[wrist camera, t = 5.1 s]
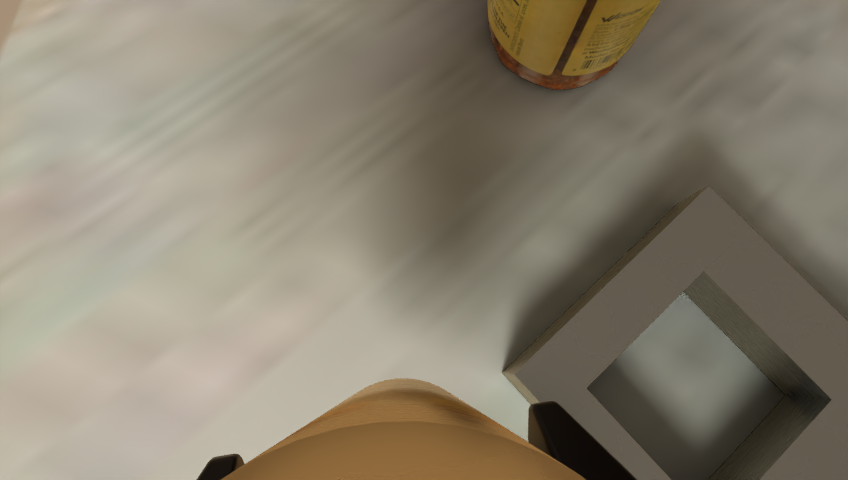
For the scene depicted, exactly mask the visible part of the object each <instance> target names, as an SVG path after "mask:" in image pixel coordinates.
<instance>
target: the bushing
mask: <svg viewBox="0 0 848 480" xmlns="http://www.w3.org/2000/svg"><path fill="white" fill-rule="evenodd" d="M221 480H586V479H585V478H583V477H582V476H581V475H579V474H578V473H576V472H575V471H573V470H571V469H570V468H568V467H567V466H565V465H563V464H562V463H560V462H559V461H557V460H555V459H554V458H552V457H551V456H549V455H547V454H546V453H544V452H543V451H541V450H540V449H538V448H536V447H535V446H533V445H532V444H530V443H528V442H527V441H525V440H524V439H522V438H520V437H519V436H517V435H516V434H514V433H513V432H511V431H509V430H508V429H506V428H505V427H503V426H501V425H500V424H498V423H497V422H495V421H493V420H492V419H490V418H489V417H487V416H486V415H484V414H482V413H481V412H479V411H478V410H476V409H474V408H473V407H471V406H470V405H468V404H466V403H465V402H463V401H462V400H460V399H459V398H457V397H455V396H454V395H452V394H451V393H449V392H447V391H446V390H444V389H442V388H440V387H439V386H436V385H434V384H431V383H429V382H425V381H421V380H416V379H391V380H385V381H382V382H378V383H375V384H373V385H370V386H368V387H366V388H364V389H362V390H361V391H359V392H357V393H356V394H354V395H353V396H351V397H350V398H348V399H346V400H345V401H343V402H342V403H340V404H339V405H337V406H335V407H334V408H332V409H331V410H329V411H328V412H326V413H324V414H323V415H321V416H320V417H318V418H317V419H315V420H313V421H312V422H310V423H309V424H307V425H306V426H304V427H303V428H301V429H299V430H298V431H296V432H295V433H293V434H292V435H290V436H288V437H287V438H285V439H284V440H282V441H281V442H279V443H277V444H276V445H274V446H273V447H271V448H270V449H268V450H266V451H265V452H263V453H262V454H260V455H259V456H257V457H256V458H254V459H252V460H251V461H249V462H248V463H246V464H245V465H243V466H241V467H240V468H238V469H237V470H235V471H234V472H232V473H230V474H229V475H227V476H226V477H224V478H223V479H221Z"/></svg>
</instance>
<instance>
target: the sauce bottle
mask: <svg viewBox="0 0 848 480" xmlns="http://www.w3.org/2000/svg"><path fill="white" fill-rule="evenodd" d="M660 1H661V0H488V1H487V9H488V20H489V30H490V31H491V38H492V41H493V44H494V46H495V48H496V51H497V52H498V56H499V58H500V60H501V61H502V63H503V64H504V65H505V66H506V67H507V68H508V69H510V70H511V71H513V72H514V73H516V74H517V75H518V76H519V77H521V78H524V79H526V80H528V81H530V82H532V83H534V84H538V85H542V86H544V87H545V88H550V89H554V90H557V89H563V90H565V89H573V88H576V87H581V86H583V85H585V84H587V83H590V82H592V81H594V80H596V79H598V78H599V77H601V76H603V75H605V74H607V73H608V72H609V71H610V70H611V69H612V68H613V67H614V66H615V65H616V64H617V62H618V59H619V58H620V57H622V56H623V55H624V54H625V53H626V52H627V50H628V49H629V48H630V47H631V46H632V44H633V43H634V41H635V40H636V38H637V37H638V35H639V34H640V32H641V31H642V29H643V28H644V26H645V24H646V23H647V21H648V20H649V18H650V17H651V15H652V14H653V12H654V10H655V9H656V7H657V6H658V4H659V2H660Z"/></svg>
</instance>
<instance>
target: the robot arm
mask: <svg viewBox="0 0 848 480" xmlns="http://www.w3.org/2000/svg"><path fill="white" fill-rule="evenodd" d="M528 441H529V443H530V444H532V445H533V446H535V447H536V448H538V449H540V450H541V451H543V452H544V453H546V454H547V455H549V456H551V457H552V458H554V459H555V460H557V461H559V462H560V463H562V464H563V465H565V466H567V467H568V468H570V469H571V470H573V471H575V472H576V473H578V474H579V475H581V476H582V477H583V478H585V479H586V480H637V479H636V478H635V477H634V476H633V475H632V474H631V473H630V472H629V471H628V470H627V469H626V468H625V467H624V466H623V465H622V464H621V463H620V462H619V461H618V460H617V459H616V458H615V457H613V456H612V455H611V454H610V453H609V452H608V451H607V450H606V449H605V448H604V447H603V446H602V445H601V444H600V443H599V442H598V441H597V440H596V439H595V438H594V437H593V436H592V435H591V434H590V433H589V432H588V431H587V430H585V429H584V428H583V427H582V426H581V425H580V424H579V423H578V422H577V421H576V420H575V419H574V418H573V417H572V416H571V415H570V414H569V413H568V412H567V411H566V410H565V409H564V408H563V407H562V406H561V405H559V404H558V403H557V402H555V401H546V402H540V403H534V404H532V405H531V406H530V408H529V419H528ZM243 465H245V464H244V462H243V459H242V457H241V456H240V455H239V454H230V455H224V456H218V457H214V458H212V459H211V460H210V461H209V462H208V463H207V465H206V466H205V468H204V469H203V471H202V472H201V474H200V475H199V477H198V478H197V480H221V479H223V478H224V477H226V476H227V475H229V474H230V473H232V472H234V471H235V470H237V469H238V468H240V467H241V466H243Z"/></svg>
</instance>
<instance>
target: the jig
mask: <svg viewBox="0 0 848 480" xmlns="http://www.w3.org/2000/svg"><path fill="white" fill-rule="evenodd" d="M683 291H684V292H685V293H686V294H687V295H688V296H689V297H690V299H691V300H692V301H693V302H694V303H695V304H696V305H697V306H698V307H699V308H700V309H701V310H702V311H703V312H704V313H705V314H706V315H707V316H708V317H709V318H710V319H711V320H712V321H713V322H714V323H715V324H716V325H717V326H718V327H719V328H720V329H721V330H722V331H723V332H724V333H725V334H726V335H727V336H728V337H729V338H730V339H731V340H732V341H733V342H734V343H735V344H736V345H737V346H738V347H739V348H740V349H741V350H742V351H743V352H744V353H745V354H746V355H747V356H748V358H749V359H750V360H751V361H752V362H753V363H754V364H755V365H756V366H757V367H758V368H759V369H760V370H761V371H762V372H763V373H764V374H765V375H766V376H767V377H768V378H769V379H770V380H771V381H772V382H773V383H774V384H775V385H776V386H777V387H778V388H779V389H780V390H781V391H782V392H783V393H784V394H785V395H786V396H785V397H784V398H783V399H782V400H781V402H780V403H779V404H778V405H777V406H776V407H775V408H774V409H773V410H772V411H771V412H770V413H769V415H768V416H767V417H766V418H765V419H764V420H763V421H762V422H761V423H760V424H759V425H758V426H757V428H756V429H755V430H754V431H753V432H752V433H751V434H750V435H749V436H748V437H747V438H746V440H745V441H744V442H743V443H742V444H741V445H740V446H739V447H738V448H737V449H736V450H735V451H734V453H733V454H732V455H731V456H730V457H729V458H728V459H727V460H726V461H725V462H724V463H723V464H722V466H721V467H720V468H719V469H718V470H717V471H716V472H715V473H714V474H713V475H712V476H711V478H710V479H709V480H848V321H847V320H846V319H845V318H844V317H843V316H842V315H841V314H840V313H839V312H838V311H837V310H836V309H835V308H834V307H833V306H832V305H831V304H830V303H829V302H828V301H827V300H826V299H825V298H824V297H822V296H821V295H820V294H819V293H818V292H817V291H816V290H815V289H814V288H813V287H812V286H811V285H810V284H809V283H808V282H807V281H806V280H805V279H804V278H803V277H802V276H801V275H800V274H799V273H798V272H797V271H796V270H795V269H794V268H793V267H792V266H791V265H790V264H789V263H788V262H787V261H786V260H785V259H784V258H783V257H782V256H781V255H780V254H779V253H778V252H777V251H776V250H775V249H773V248H772V247H771V246H770V245H769V244H768V243H767V242H766V241H765V240H764V239H763V238H762V237H761V236H760V235H759V234H758V233H757V232H756V231H755V230H754V229H753V228H752V227H751V226H750V225H749V224H748V223H747V222H746V221H745V220H744V219H743V218H742V217H741V216H740V215H739V214H738V213H737V212H736V211H735V210H734V209H733V208H732V207H731V206H730V205H729V204H728V203H727V202H725V201H724V200H723V199H722V198H721V197H720V196H719V195H718V194H717V193H716V192H715V191H714V190H713V189H712V188H711V187H710V186H707V187H706V188H704V189H702V190H700V191H699V192H697V193H695V194H693V195H692V196H690V197H688V198H686V199H685V200H683V201H681V202H680V203H678V204H677V205H676V206H675V207H674V208H673V209H672V210H671V211H670V212H669V213H668V214H667V215H666V216H664V217H663V218H662V219H661V220H660V221H659V222H658V223H657V224H656V225H655V226H654V227H653V228H652V229H651V230H650V231H649V232H648V233H647V234H646V235H645V236H644V237H643V238H642V239H641V240H640V241H638V242H637V243H636V244H635V245H634V246H633V247H632V248H631V249H630V250H629V251H628V252H627V253H626V254H625V255H624V256H623V257H622V258H621V259H620V260H619V261H618V262H617V263H616V264H615V265H614V266H612V267H611V268H610V269H609V270H608V271H607V272H606V273H605V274H604V275H603V276H602V277H601V278H600V279H599V280H598V281H597V282H596V283H595V284H594V285H593V286H592V287H591V288H590V289H589V290H588V291H586V292H585V293H584V294H583V295H582V296H581V297H580V298H579V299H578V300H577V301H576V302H575V303H574V304H573V305H572V306H571V307H570V308H569V309H568V310H567V311H566V312H565V313H564V314H563V315H562V316H561V317H559V318H558V319H557V320H556V321H555V322H554V323H553V324H552V325H551V326H550V327H549V328H548V329H547V330H546V331H545V332H544V333H543V334H542V335H541V336H540V337H539V338H538V339H537V340H536V341H535V342H533V343H532V344H531V345H530V346H529V347H528V348H527V349H526V350H525V351H524V352H523V353H522V354H521V355H520V356H519V357H518V358H517V359H516V360H515V361H514V362H513V363H512V364H511V365H510V366H509V367H507V368H506V369H505V370H504V371H503V372H502V373H503V374H504V376H505V377H506V378H507V379H508V380H509V381H510V382H511V383H512V384H513V385H514V387H515V388H516V389H517V390H518V391H519V392H520V393H521V394H522V395H523V396H524V398H525V399H526V400H527V401H528V402H529V403H530V404H531V405H532V404H534V403H540V402H546V401H555V402H557V403H558V404H559V405H561V406H562V407H563V408H564V409H565V410H566V411H567V412H568V413H569V414H570V415H571V416H572V417H573V418H574V419H575V420H576V421H577V422H578V423H579V424H580V425H581V426H582V427H583V428H584V429H585V430H587V431H588V432H589V433H590V434H591V435H592V436H593V437H594V438H595V439H596V440H597V441H598V442H599V443H600V444H601V445H602V446H603V447H604V448H605V449H606V450H607V451H608V452H609V453H610V454H611V455H612V456H613V457H615V458H616V459H617V460H618V461H619V462H620V463H621V464H622V465H623V466H624V467H625V468H626V469H627V470H628V471H629V472H630V473H631V474H632V475H633V476H634V477H635V478H636V479H637V480H671V479H670V478H669V476H668V475H667V474H666V473H665V472H664V471H663V470H662V469H661V468H660V467H659V466H658V465H657V464H656V462H655V461H654V460H653V459H652V458H651V457H650V456H649V455H648V454H647V453H646V452H645V451H644V450H643V449H642V447H641V446H640V445H639V444H638V443H637V442H636V441H635V440H634V439H633V438H632V437H631V436H630V435H629V433H628V432H627V431H626V430H625V429H624V428H623V427H622V426H621V425H620V424H619V423H618V422H617V421H616V419H615V418H614V417H613V416H612V415H611V414H610V413H609V412H608V411H607V410H606V409H605V408H604V407H603V406H602V404H601V403H600V402H599V401H598V400H597V399H596V398H595V397H594V396H593V395H592V394H591V393H590V392H589V390H588V389H587V387H588V386H589V385H590V384H591V383H592V382H593V381H594V380H595V379H596V378H597V377H598V376H599V375H600V374H601V373H602V372H603V371H604V370H605V369H606V368H607V367H608V366H609V365H610V364H611V363H612V362H613V361H614V360H615V359H616V358H617V357H618V356H619V355H620V354H621V353H622V352H623V351H624V350H625V349H626V348H627V347H628V346H629V345H630V344H631V343H632V342H633V341H634V340H635V339H636V338H637V337H638V336H639V335H640V334H641V333H642V332H643V331H644V330H645V329H646V328H647V327H648V326H649V325H650V324H651V323H652V322H653V321H654V320H655V319H656V318H657V317H658V316H659V315H660V314H661V313H662V312H663V311H664V310H665V309H666V308H667V307H668V306H669V305H670V304H671V303H672V302H673V301H674V300H675V299H676V298H677V297H678V296H679V295H680V294H681V293H682V292H683Z"/></svg>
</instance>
